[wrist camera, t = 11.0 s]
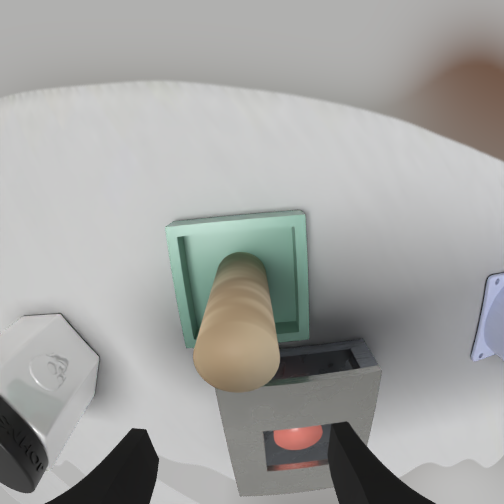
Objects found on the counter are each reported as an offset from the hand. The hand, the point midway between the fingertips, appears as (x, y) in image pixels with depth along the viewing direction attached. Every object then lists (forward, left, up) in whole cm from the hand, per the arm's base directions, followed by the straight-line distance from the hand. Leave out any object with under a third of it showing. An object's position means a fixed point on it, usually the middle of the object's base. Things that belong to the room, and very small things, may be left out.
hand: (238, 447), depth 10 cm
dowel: (0, -4, -10) cm, 11 cm away
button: (-3, +8, -9) cm, 13 cm away
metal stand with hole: (-3, +8, -10) cm, 14 cm away
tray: (0, -4, -10) cm, 11 cm away
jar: (+16, +2, -11) cm, 19 cm away
